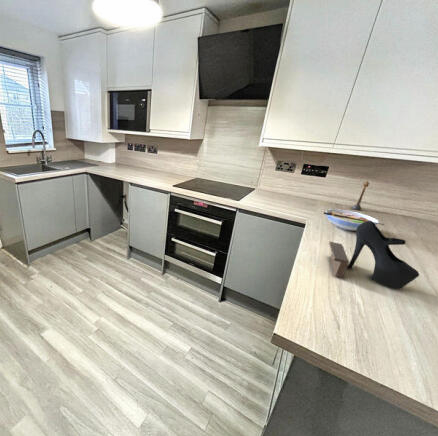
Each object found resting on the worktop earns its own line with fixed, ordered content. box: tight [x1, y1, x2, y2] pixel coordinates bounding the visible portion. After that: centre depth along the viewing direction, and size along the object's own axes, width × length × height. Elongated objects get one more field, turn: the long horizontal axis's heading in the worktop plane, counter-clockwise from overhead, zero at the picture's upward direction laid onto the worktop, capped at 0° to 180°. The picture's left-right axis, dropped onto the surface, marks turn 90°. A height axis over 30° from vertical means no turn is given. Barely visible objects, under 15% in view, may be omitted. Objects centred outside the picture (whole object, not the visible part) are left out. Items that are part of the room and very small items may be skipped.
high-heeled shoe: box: [347, 221, 420, 290], centre depth 82 cm, size 8×19×20 cm, turn 33°
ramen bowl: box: [323, 208, 385, 232], centre depth 129 cm, size 25×23×8 cm
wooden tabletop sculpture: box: [351, 180, 370, 211], centre depth 162 cm, size 6×5×20 cm
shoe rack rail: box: [328, 241, 350, 279], centre depth 90 cm, size 4×16×7 cm, turn 149°
